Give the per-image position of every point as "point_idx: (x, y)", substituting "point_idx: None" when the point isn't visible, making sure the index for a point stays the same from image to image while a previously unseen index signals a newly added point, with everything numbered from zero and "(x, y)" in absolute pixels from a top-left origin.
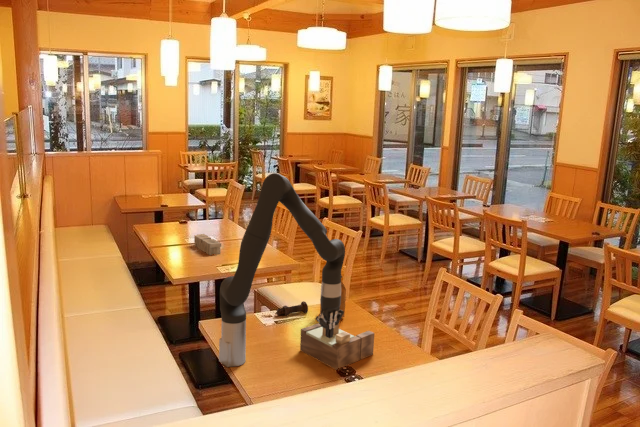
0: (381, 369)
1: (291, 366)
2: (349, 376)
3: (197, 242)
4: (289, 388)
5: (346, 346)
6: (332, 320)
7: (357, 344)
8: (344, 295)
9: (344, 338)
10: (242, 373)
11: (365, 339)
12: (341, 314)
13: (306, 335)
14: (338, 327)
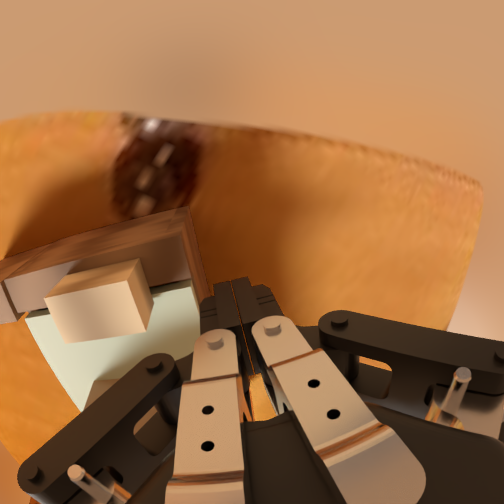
0: (25, 135)
1: (331, 304)
2: (168, 128)
3: None
4: (415, 172)
5: (102, 248)
6: (245, 407)
7: (35, 263)
8: (33, 501)
9: (98, 279)
10: (446, 310)
11: None
12: (61, 458)
13: None
14: (87, 404)
